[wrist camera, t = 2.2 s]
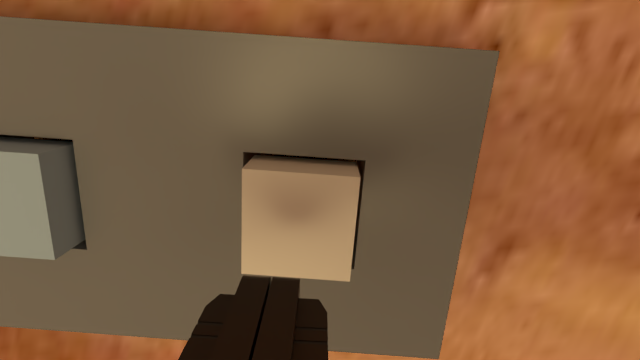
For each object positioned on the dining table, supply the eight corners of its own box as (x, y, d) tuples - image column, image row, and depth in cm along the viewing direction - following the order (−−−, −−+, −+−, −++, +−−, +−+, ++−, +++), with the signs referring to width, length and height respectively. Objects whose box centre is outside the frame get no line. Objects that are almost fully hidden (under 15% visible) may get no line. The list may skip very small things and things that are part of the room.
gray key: (80, 142, 16) (37, 154, 13) (92, 234, 17) (54, 260, 15) (-20, 135, 16) (-80, 145, 13) (-1, 228, 17) (-53, 252, 15)
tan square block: (356, 161, 16) (360, 177, 13) (347, 253, 17) (349, 281, 15) (254, 154, 16) (241, 168, 13) (253, 246, 17) (241, 273, 15)
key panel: (461, 56, 17) (499, 51, 13) (419, 307, 21) (438, 359, 17) (-79, 18, 17) (-195, 3, 13) (-20, 274, 21) (-97, 319, 17)
